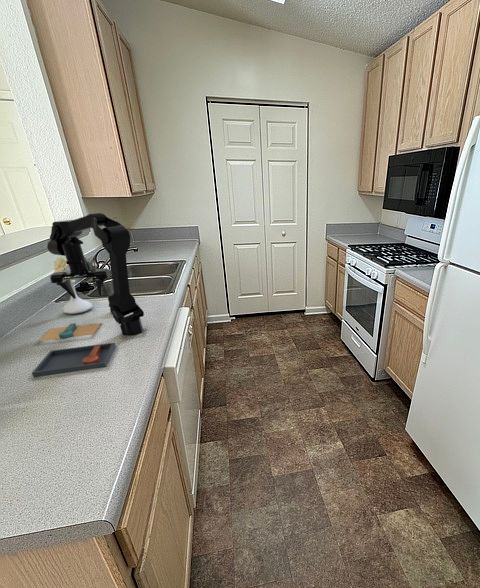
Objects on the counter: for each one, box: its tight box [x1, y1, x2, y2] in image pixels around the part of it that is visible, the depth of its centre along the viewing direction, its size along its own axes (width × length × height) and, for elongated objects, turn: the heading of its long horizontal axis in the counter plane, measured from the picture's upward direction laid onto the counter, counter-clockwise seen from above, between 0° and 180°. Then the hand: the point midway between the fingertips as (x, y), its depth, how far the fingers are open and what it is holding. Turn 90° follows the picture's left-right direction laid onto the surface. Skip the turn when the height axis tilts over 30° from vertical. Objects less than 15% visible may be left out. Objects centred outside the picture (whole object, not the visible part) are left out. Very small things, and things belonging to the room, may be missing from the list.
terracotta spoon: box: [82, 346, 102, 364], centre depth 107 cm, size 4×11×2 cm, turn 16°
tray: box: [31, 342, 117, 378], centre depth 107 cm, size 20×15×2 cm
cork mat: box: [39, 323, 102, 342], centre depth 127 cm, size 18×14×1 cm
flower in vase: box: [52, 255, 93, 315], centre depth 143 cm, size 13×11×25 cm
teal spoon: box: [58, 322, 78, 340], centre depth 126 cm, size 4×11×2 cm, turn 16°
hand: (88, 297), depth 129 cm, fingers open, 9 cm apart
